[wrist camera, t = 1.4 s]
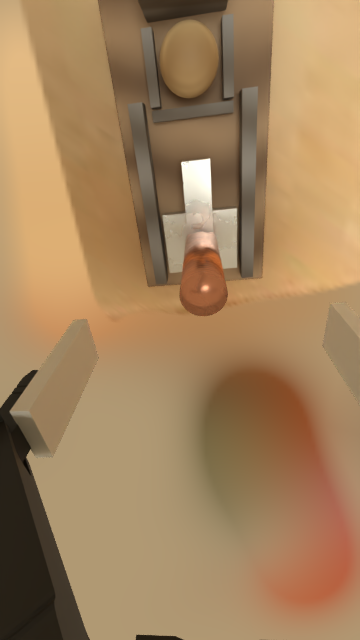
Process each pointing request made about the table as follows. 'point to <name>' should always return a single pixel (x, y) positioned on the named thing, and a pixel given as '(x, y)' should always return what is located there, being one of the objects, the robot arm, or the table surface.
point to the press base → (193, 119)
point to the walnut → (189, 58)
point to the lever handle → (201, 242)
